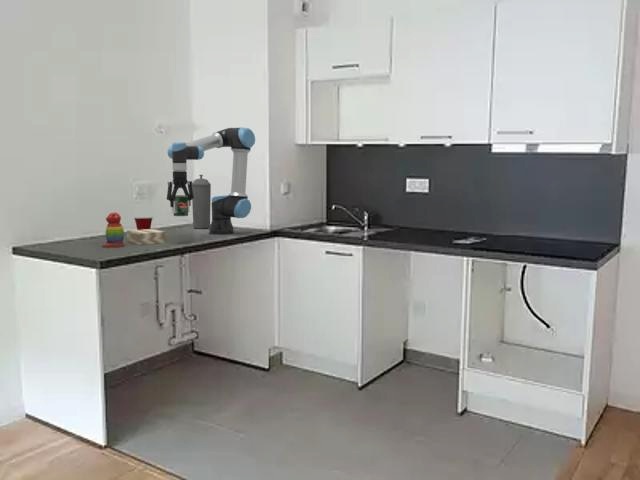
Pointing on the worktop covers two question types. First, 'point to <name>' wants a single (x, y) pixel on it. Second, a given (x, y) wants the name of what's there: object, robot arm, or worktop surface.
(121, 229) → the stacking bear
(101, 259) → the worktop surface
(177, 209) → the canned tomato
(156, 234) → the base block
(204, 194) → the canister
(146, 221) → the plastic cup
